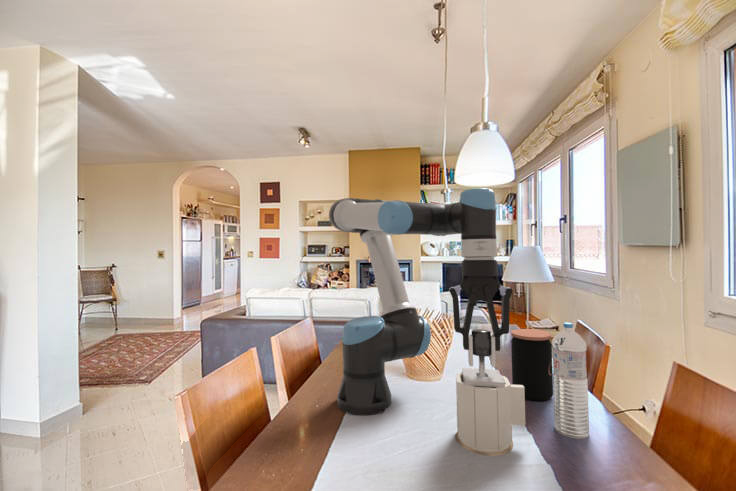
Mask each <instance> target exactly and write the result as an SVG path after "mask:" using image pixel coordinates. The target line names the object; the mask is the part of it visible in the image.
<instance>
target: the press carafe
mask: <svg viewBox="0 0 736 491" xmlns="http://www.w3.org/2000/svg"><path fill="white" fill-rule="evenodd" d="M455 382H456V383H455V384H456V385H455V387H456V389H455V390H456V391H455V392H456V427H457V430H456V431H458V439H459V441H460V442H461V443H462V444H463V445H464V446H465V447H467V448H469V449H471V450H474V451H477V452H480V453H486V454H497V453H502V452H505V451H507V450H508V449H509V448H510V446H511V443H512V441H513V427H512V426H526V400H525V391H524V386H523V385H512V383H510V381H509V379H508V377H507V376H505V375H502V374H501V373H500V371H499V369H491V368H485V377H479V368H471V367H470V368H468V367H462V368H461V372H460V373H457V374H456V375H455ZM480 386H485V387H480Z"/></svg>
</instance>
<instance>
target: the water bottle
mask: <svg viewBox="0 0 736 491" xmlns="http://www.w3.org/2000/svg"><path fill="white" fill-rule="evenodd" d="M562 325H563V329H562V330H560V331H559V332H558V333H556V334H555V335H554V337H553V338H551V339H552V340H551V344H552V370H553V417H554V418H553V419H554V420H553V421H554V422H553V423H554V430H555V431H556V432H557V433H559V434H560V435H562V436H565V437H567V438H571V439H576V440H583V439H587V438H589V436H590V420H589V419H590V417H589V416H590V415H589V414H590V413H589V392H588V390H589V386H588V384H589V383H588V380H589V379H588V378H587V376H588V375H587V373H588V372H587V343H586V341H585V339H584V338H583V337H582V336H581V335H580V334H579V333H578V332H577V331H575V330H574V329H573V328H574V324H573V323H572V322H563V324H562Z"/></svg>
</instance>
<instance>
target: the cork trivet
mask: <svg viewBox="0 0 736 491" xmlns="http://www.w3.org/2000/svg"><path fill="white" fill-rule="evenodd" d="M455 440H456V441H457V443H458V445H459V446H461V447H462V448H464V449H466V450H467V451H470V452H472V453H474V454H479V455H482V456H502V455H505V454H509V453H510V452H511V451H512V450H513V449H514V441H513V440H512V443H511V446H510V448H509V449H508V450H507V451H505V452H502V453H497V454H486V453H480V452H477V451H474V450H471V449H469V448H467V447H465V446H464V445H463V444H462V443H461V442H460V441H459V439H458V430H456V432H455Z"/></svg>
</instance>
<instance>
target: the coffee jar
mask: <svg viewBox="0 0 736 491" xmlns="http://www.w3.org/2000/svg"><path fill="white" fill-rule="evenodd" d="M510 335H511V336H512V338H511V340H510V344H511V347H510V348H511V382H512V383H511V384H512V385H523V386H524V391H525V401H527V402H536V403H547V402H549V401H550V400H551V399H552V398H553V397H554V393H553V390H554V389H553V347H552V341H550V339H552V334H551V333H550V332H548V331H544V330H542V329H541V330H540V329H533V328H519V329H513V330H511V331H510Z"/></svg>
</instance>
